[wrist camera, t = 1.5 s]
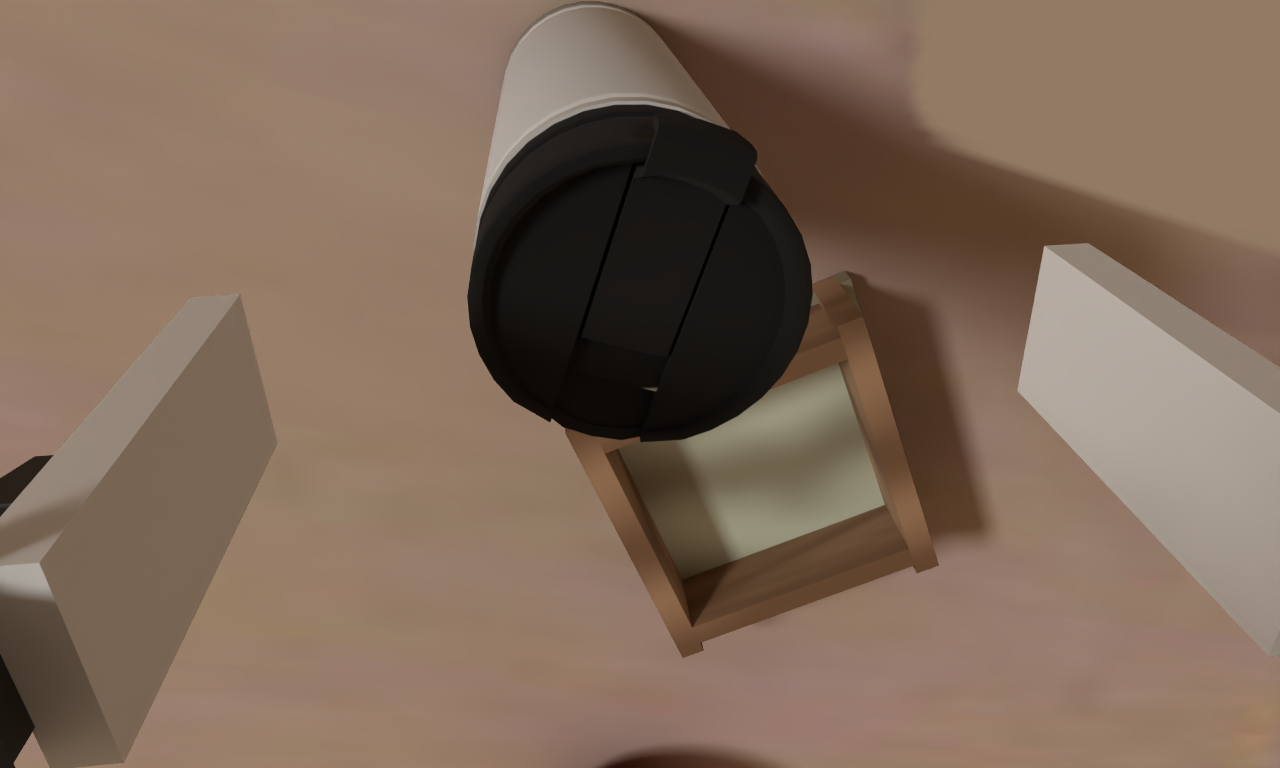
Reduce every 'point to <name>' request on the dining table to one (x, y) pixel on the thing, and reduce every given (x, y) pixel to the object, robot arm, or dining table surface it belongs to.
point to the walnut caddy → (771, 490)
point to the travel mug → (628, 240)
